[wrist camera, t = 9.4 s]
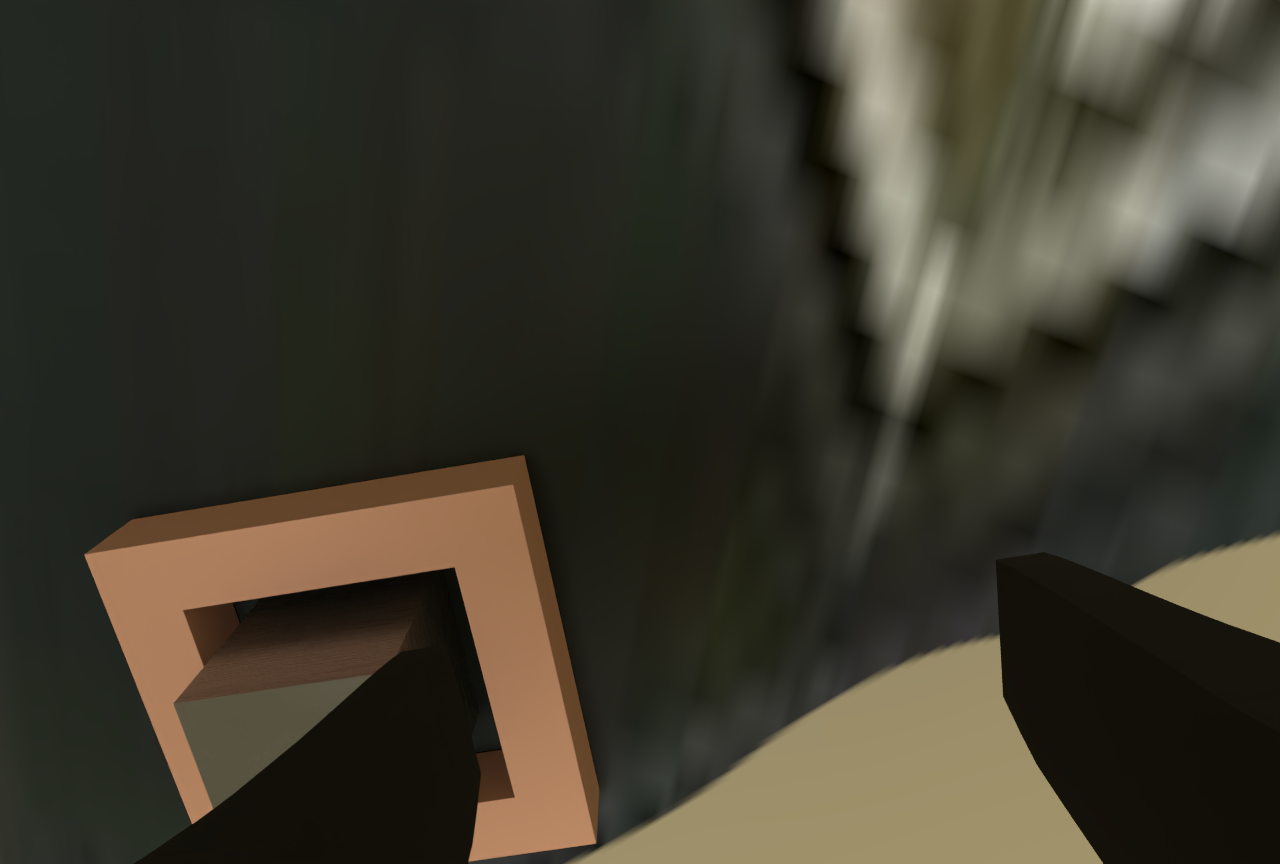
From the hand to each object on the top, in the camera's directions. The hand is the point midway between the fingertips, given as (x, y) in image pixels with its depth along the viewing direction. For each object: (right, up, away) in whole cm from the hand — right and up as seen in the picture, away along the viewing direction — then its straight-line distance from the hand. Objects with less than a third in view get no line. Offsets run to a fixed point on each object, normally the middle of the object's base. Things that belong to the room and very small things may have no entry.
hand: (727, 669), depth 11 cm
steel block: (-8, -3, +12) cm, 15 cm away
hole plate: (-8, -3, +12) cm, 15 cm away
